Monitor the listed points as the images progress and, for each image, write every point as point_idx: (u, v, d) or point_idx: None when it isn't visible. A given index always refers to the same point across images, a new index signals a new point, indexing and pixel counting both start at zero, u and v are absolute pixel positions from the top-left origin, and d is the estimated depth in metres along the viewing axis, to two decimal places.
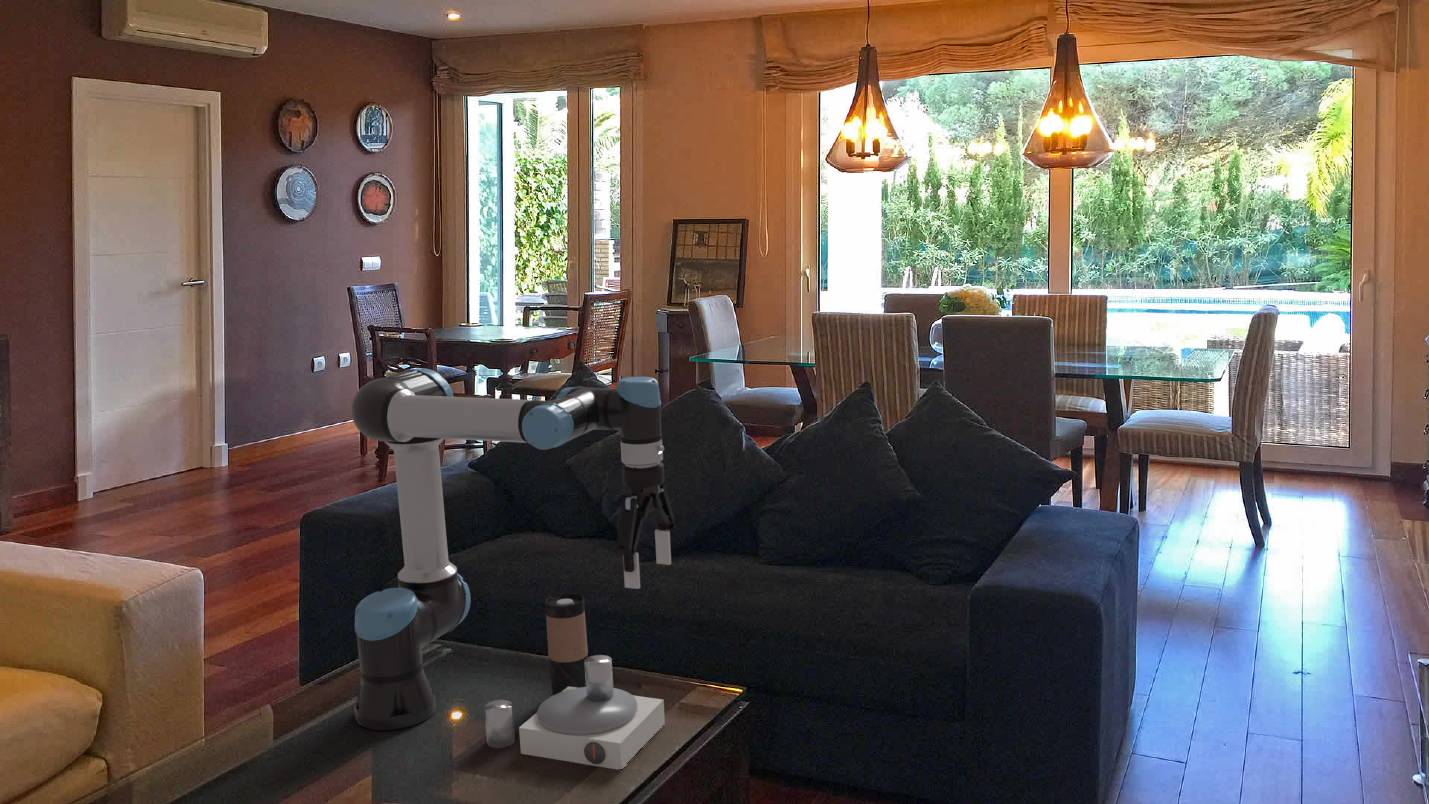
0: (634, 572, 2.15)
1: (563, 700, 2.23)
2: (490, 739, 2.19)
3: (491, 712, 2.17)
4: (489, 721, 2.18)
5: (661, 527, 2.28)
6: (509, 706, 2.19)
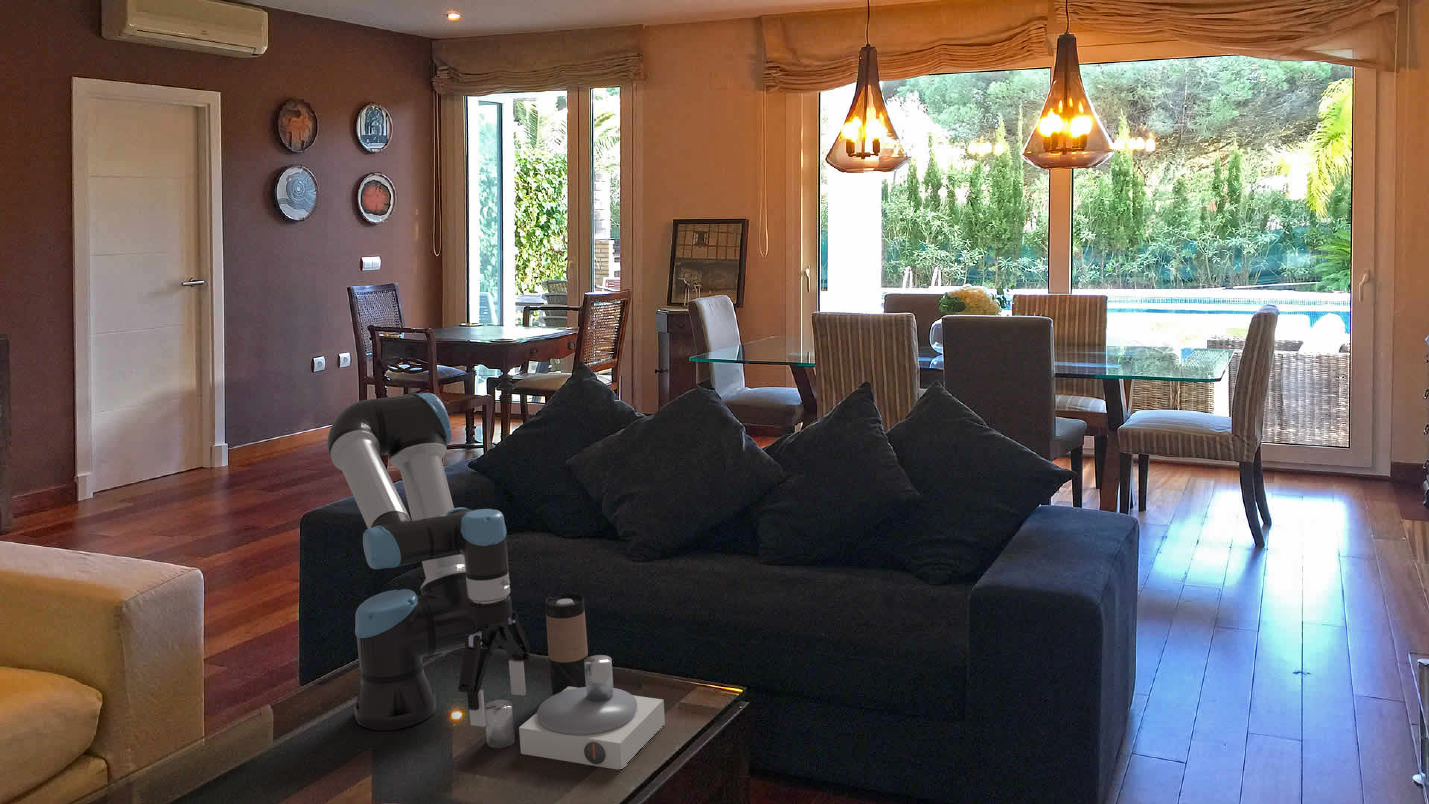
0: (479, 710, 2.12)
1: (563, 700, 2.23)
2: (490, 739, 2.19)
3: (491, 712, 2.17)
4: (489, 721, 2.18)
5: (515, 657, 2.25)
6: (509, 706, 2.19)
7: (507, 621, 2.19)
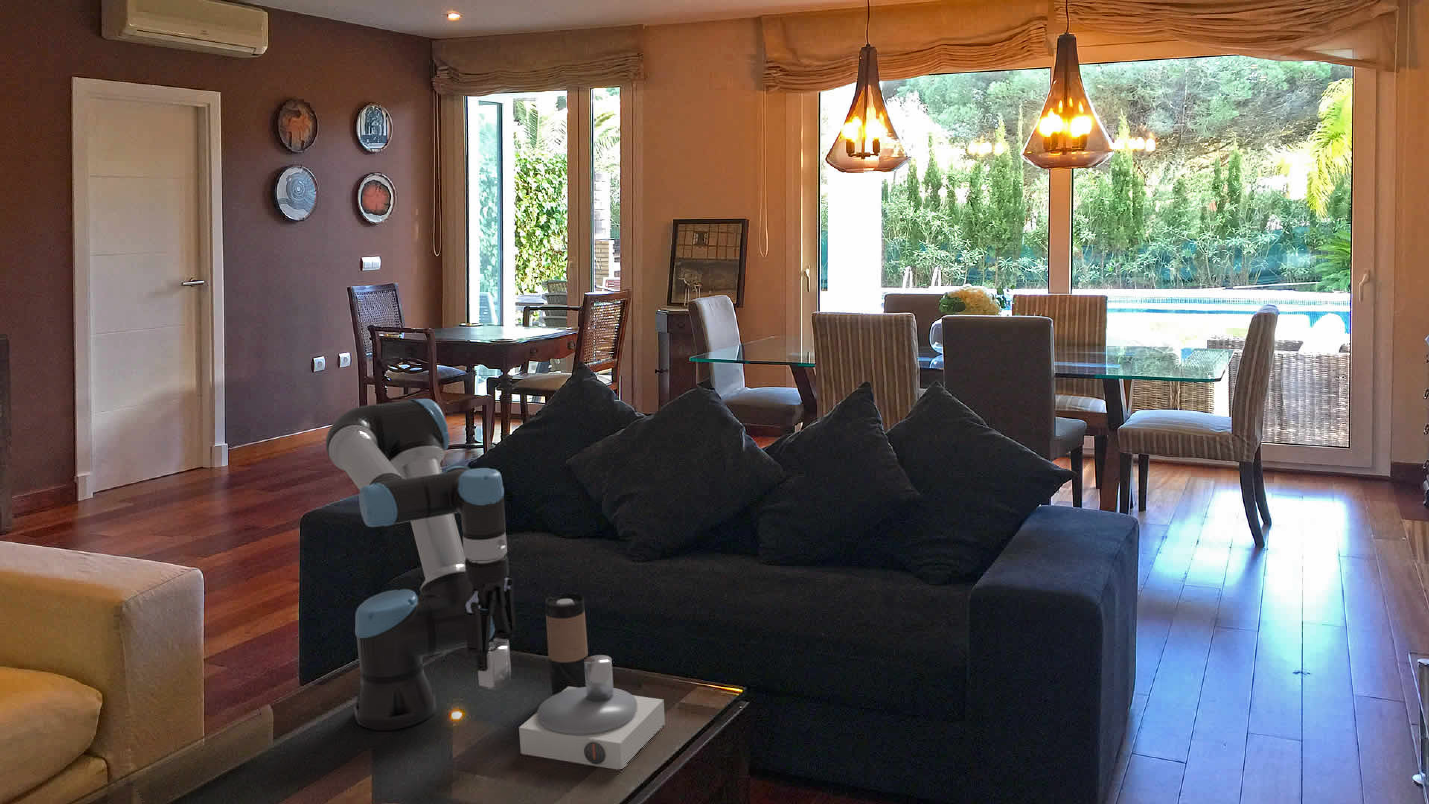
0: (487, 671, 2.15)
1: (563, 700, 2.23)
2: None
3: None
4: None
5: (500, 636, 2.20)
6: (505, 647, 2.17)
7: (503, 582, 2.18)
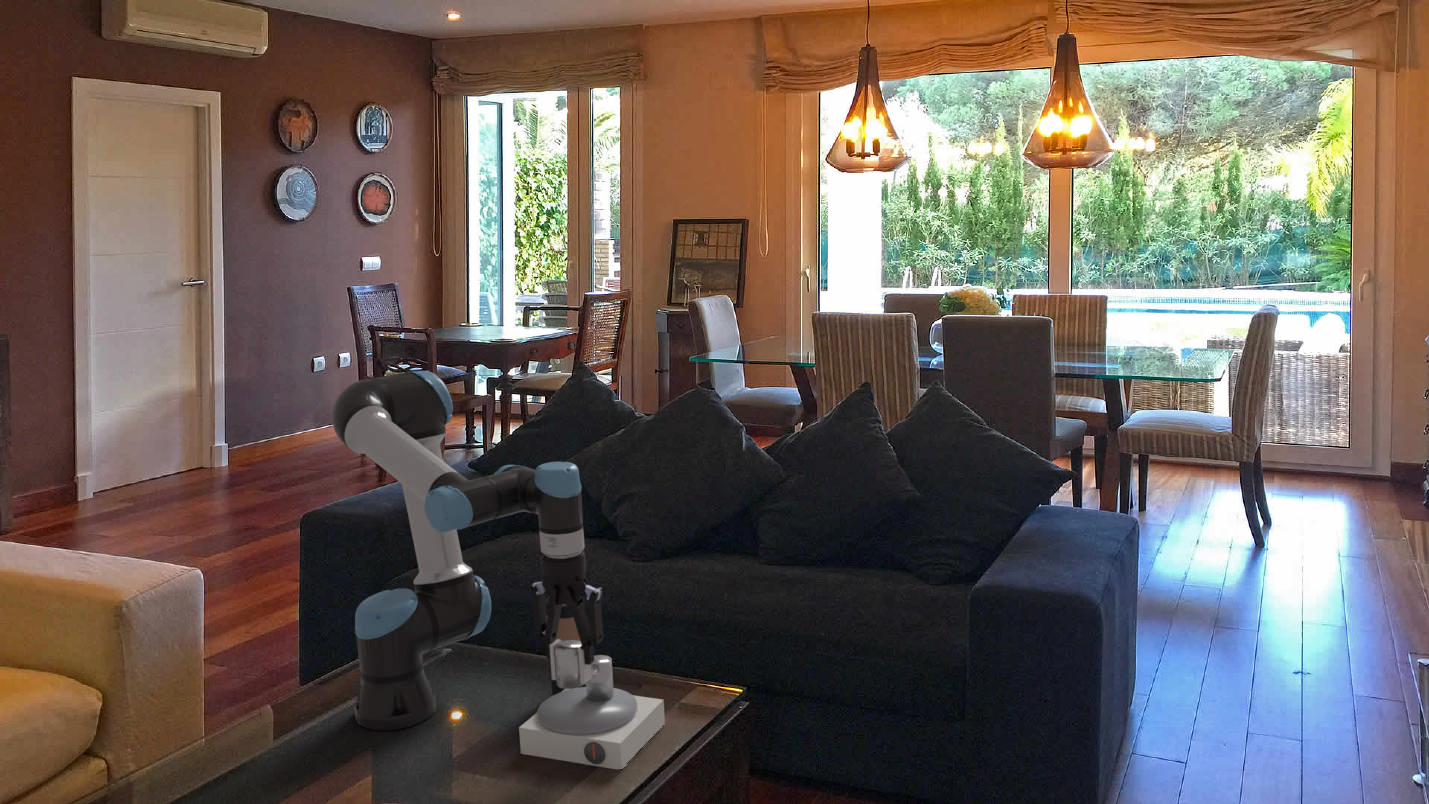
0: None
1: (563, 700, 2.23)
2: None
3: (556, 644, 2.13)
4: None
5: None
6: (564, 650, 2.10)
7: (579, 588, 2.08)
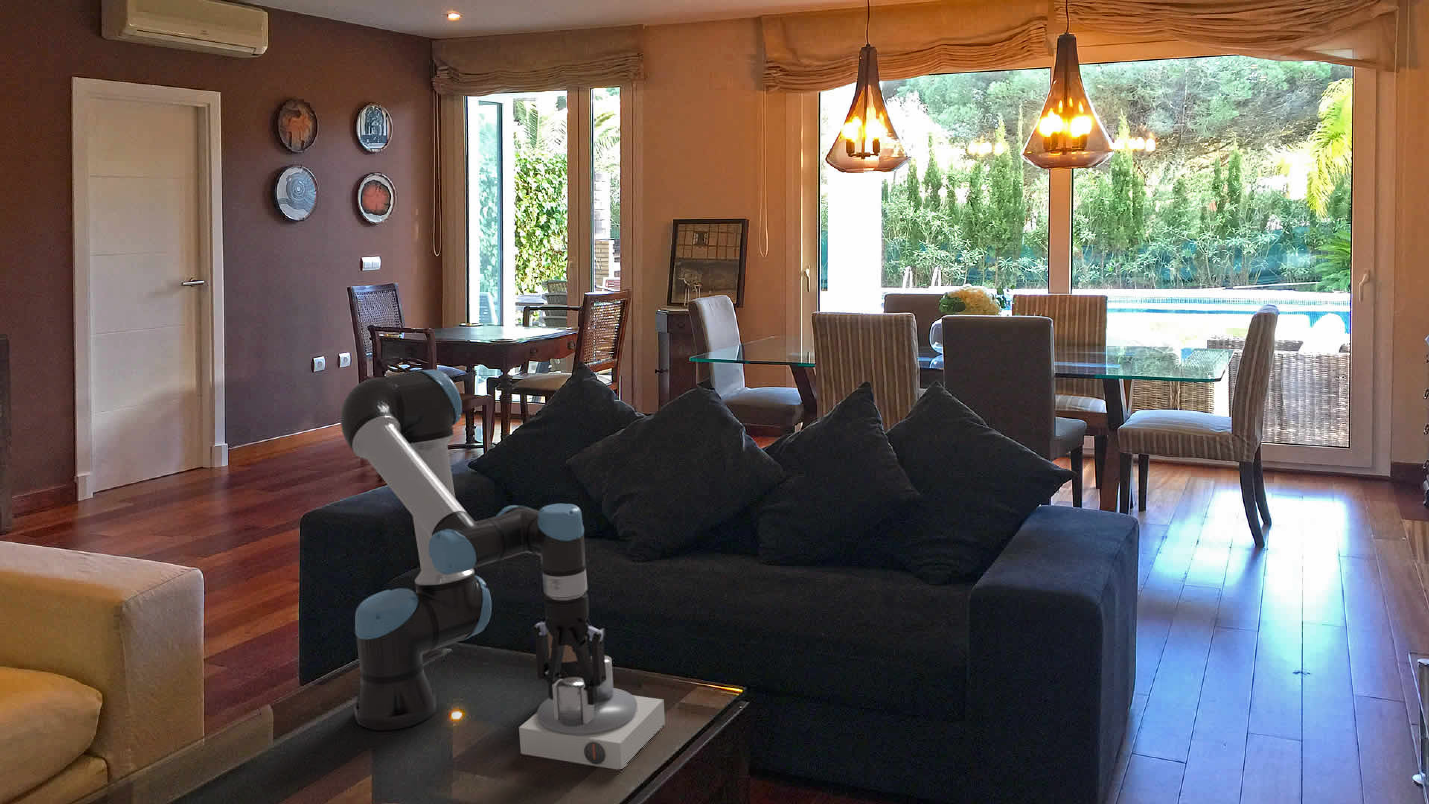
0: None
1: None
2: None
3: (558, 682, 2.14)
4: None
5: None
6: (567, 688, 2.11)
7: (582, 629, 2.09)
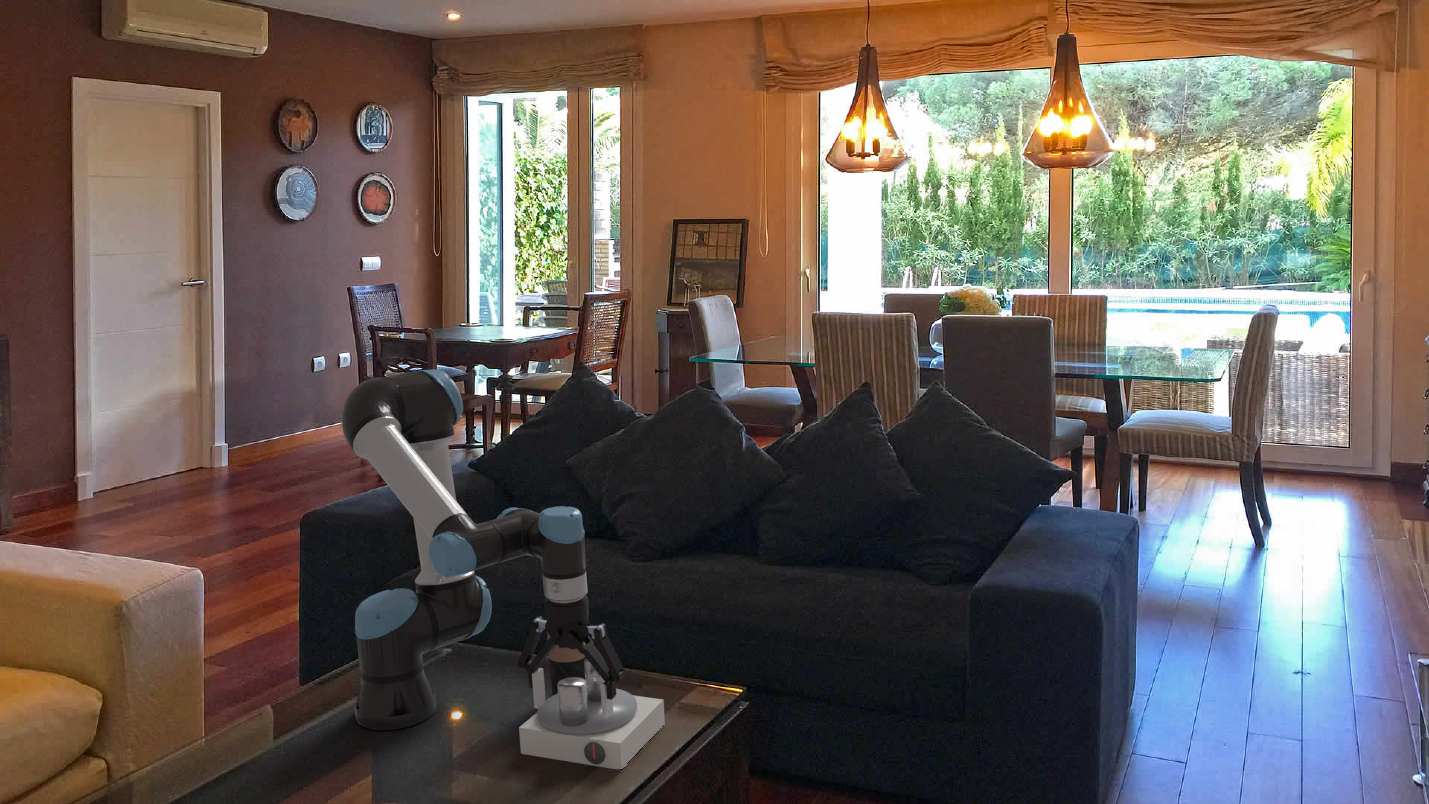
0: None
1: None
2: None
3: (559, 682, 2.14)
4: None
5: None
6: (567, 688, 2.11)
7: (582, 631, 2.09)
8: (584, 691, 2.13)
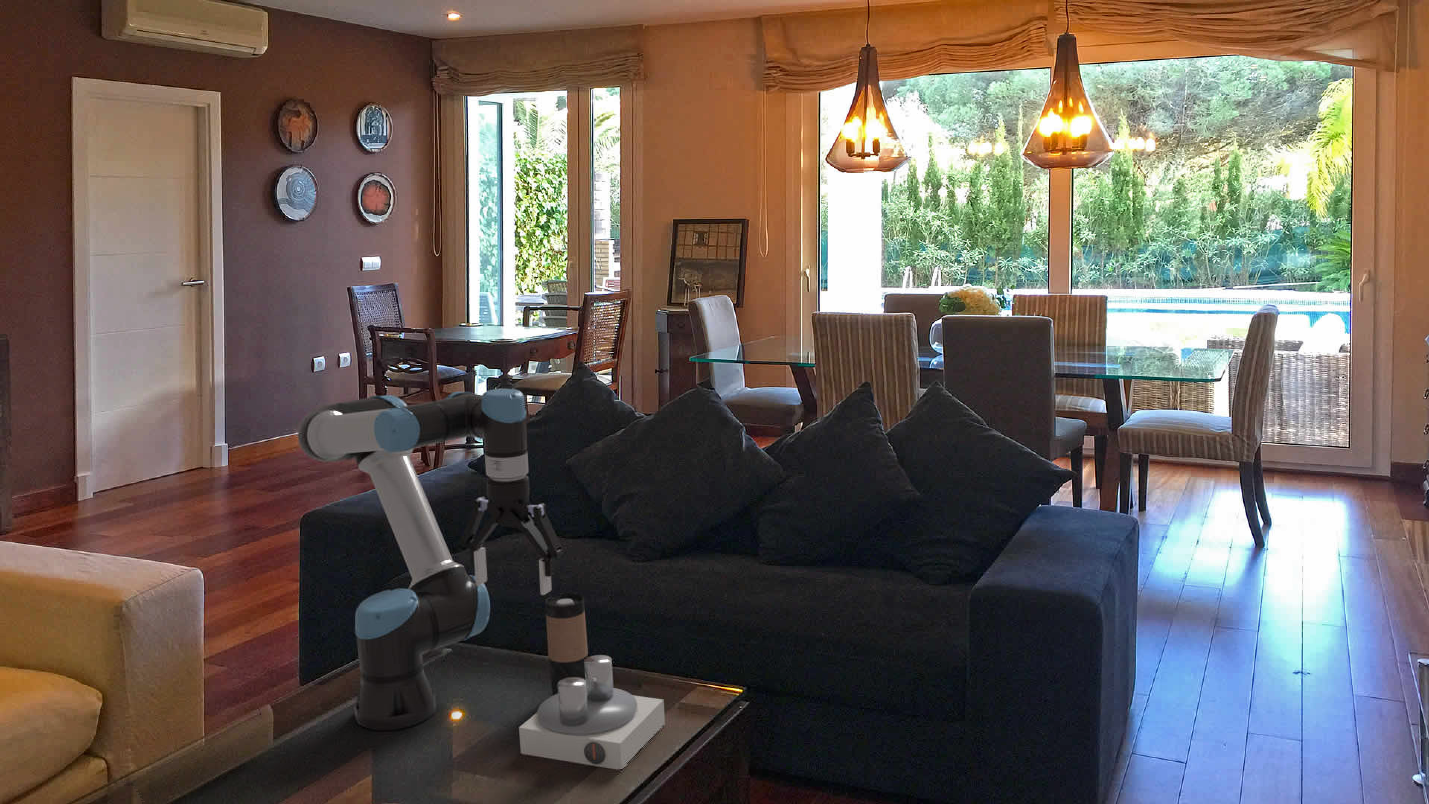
0: None
1: None
2: None
3: (559, 682, 2.14)
4: None
5: None
6: (567, 688, 2.11)
7: (522, 510, 2.16)
8: (584, 691, 2.13)
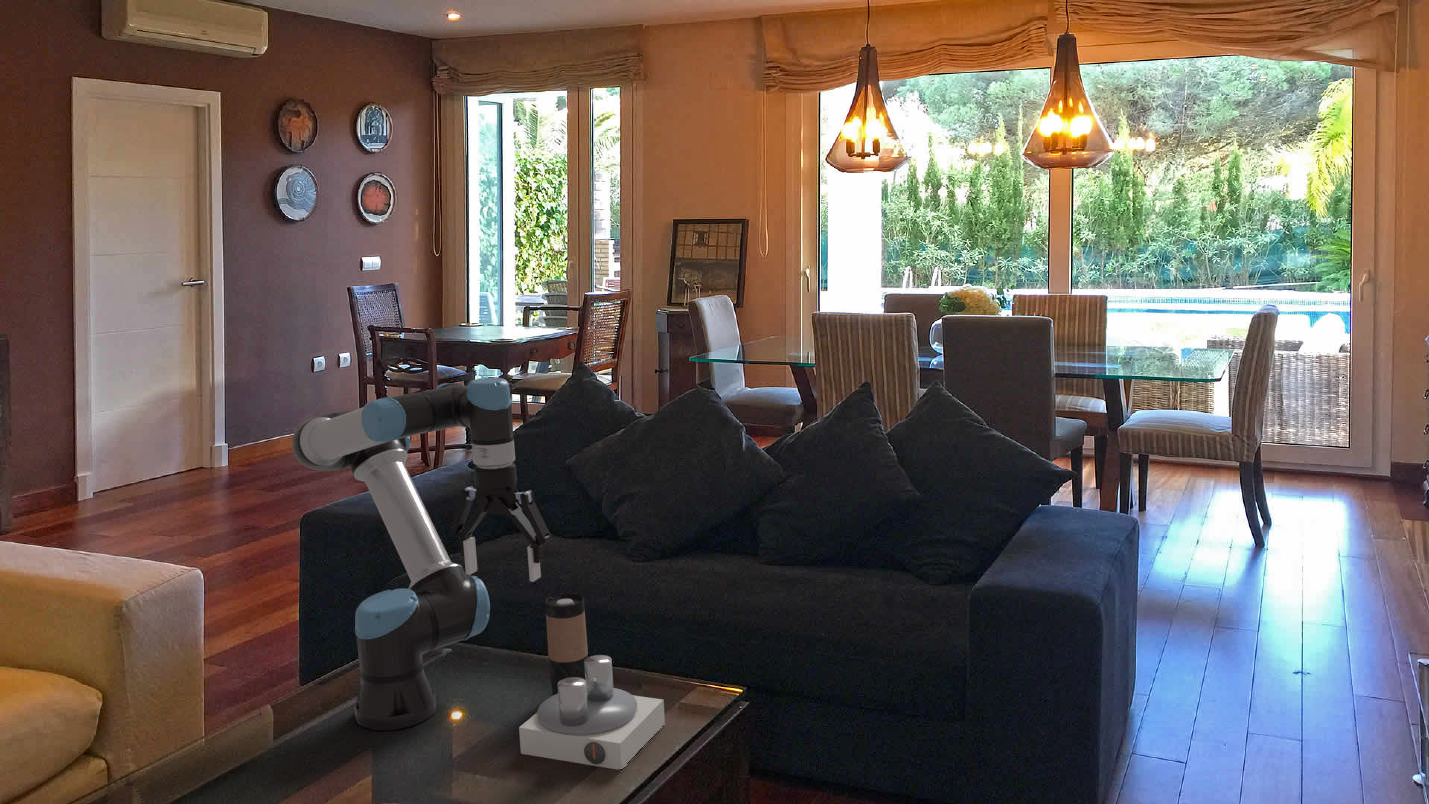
0: None
1: None
2: None
3: (559, 682, 2.14)
4: None
5: None
6: (567, 688, 2.11)
7: (509, 497, 2.18)
8: (584, 691, 2.13)
